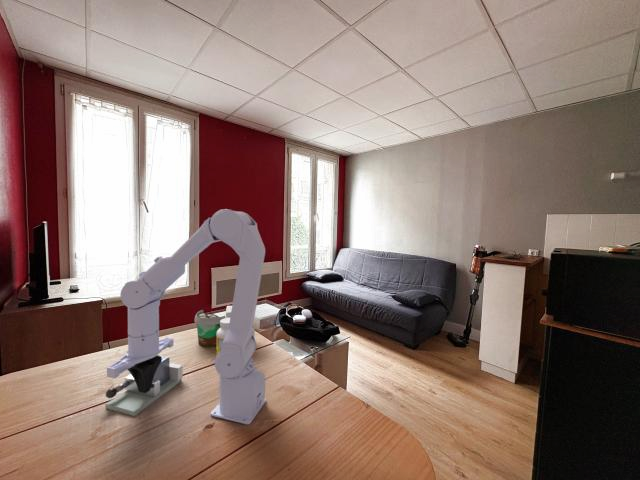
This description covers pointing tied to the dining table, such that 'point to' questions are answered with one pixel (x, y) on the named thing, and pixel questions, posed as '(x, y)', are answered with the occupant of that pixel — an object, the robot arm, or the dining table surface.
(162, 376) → the block
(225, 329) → the supplement bottle
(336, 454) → the dining table surface
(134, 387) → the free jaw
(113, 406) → the base
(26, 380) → the dining table surface
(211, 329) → the food container
